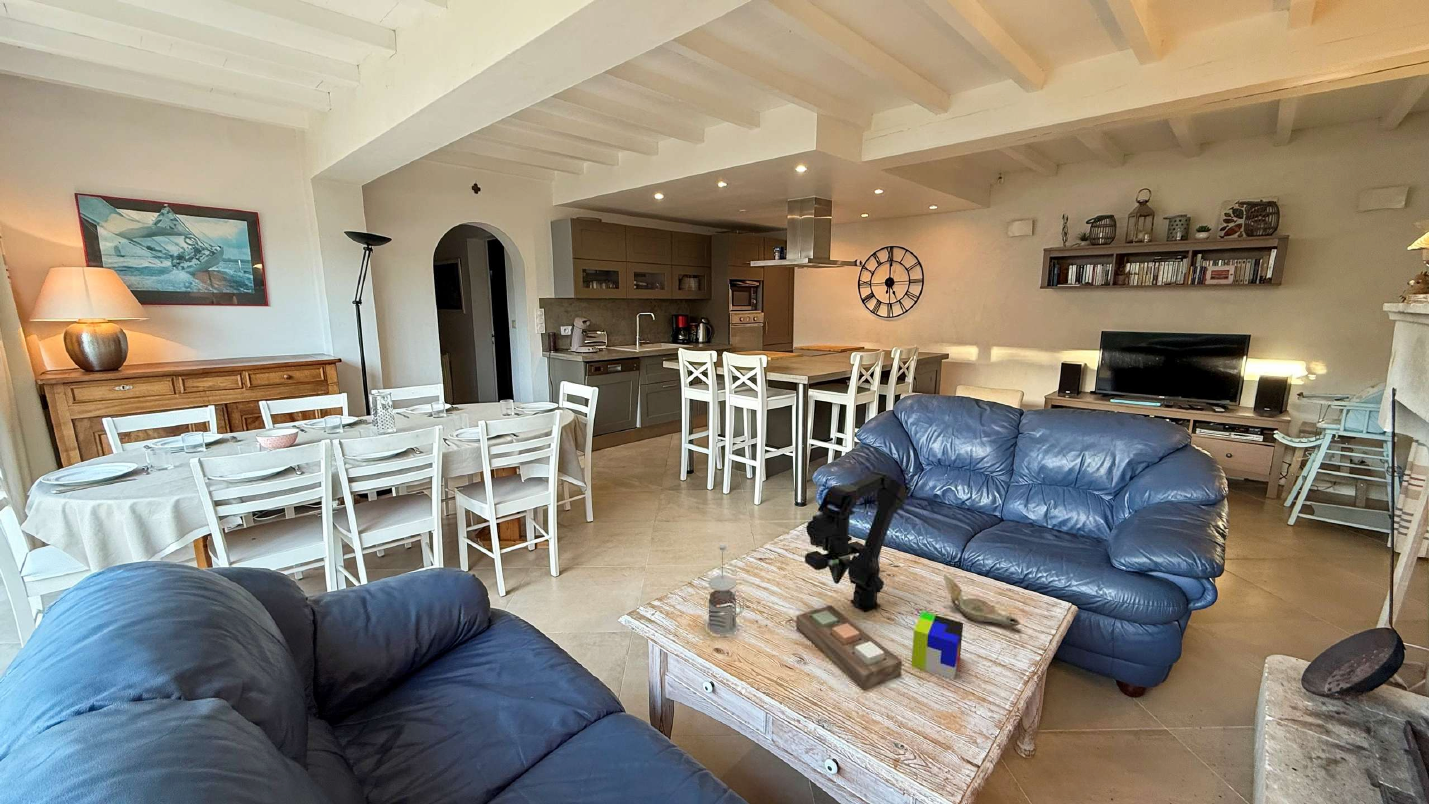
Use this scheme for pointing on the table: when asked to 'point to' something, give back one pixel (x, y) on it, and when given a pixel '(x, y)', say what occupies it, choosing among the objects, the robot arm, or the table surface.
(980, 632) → the table surface
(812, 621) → the key console
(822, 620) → the pale green square block
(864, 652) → the white square block
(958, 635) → the puzzle toy
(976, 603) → the oil lamp
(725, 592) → the french press
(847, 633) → the terracotta key
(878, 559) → the drinking glass
